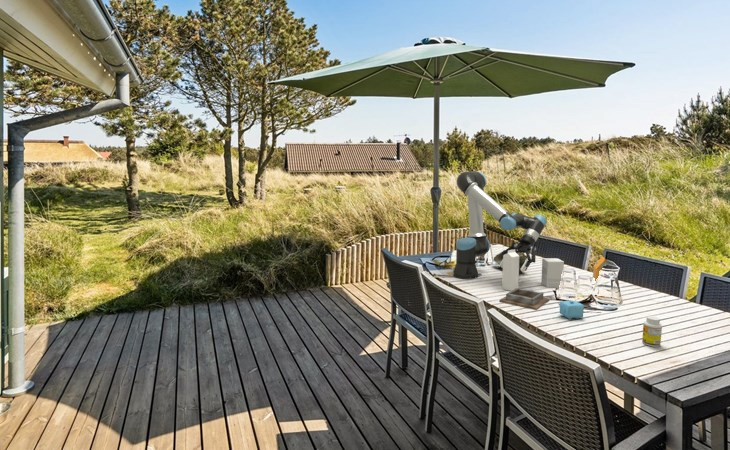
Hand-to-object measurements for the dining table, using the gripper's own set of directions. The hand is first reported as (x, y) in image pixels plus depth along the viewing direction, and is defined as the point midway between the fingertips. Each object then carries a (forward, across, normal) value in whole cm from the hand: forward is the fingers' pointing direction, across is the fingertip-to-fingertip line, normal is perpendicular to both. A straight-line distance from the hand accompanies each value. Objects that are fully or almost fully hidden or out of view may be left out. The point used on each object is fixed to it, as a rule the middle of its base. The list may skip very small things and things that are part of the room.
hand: (511, 268), depth 216 cm
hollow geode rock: (-16, +26, -34) cm, 46 cm away
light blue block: (+19, -41, +2) cm, 45 cm away
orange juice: (-13, -33, -30) cm, 47 cm away
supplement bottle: (+20, -74, +3) cm, 77 cm away
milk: (+8, +1, -9) cm, 12 cm away
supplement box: (-10, -8, -27) cm, 29 cm away
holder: (+16, -17, 0) cm, 23 cm away
